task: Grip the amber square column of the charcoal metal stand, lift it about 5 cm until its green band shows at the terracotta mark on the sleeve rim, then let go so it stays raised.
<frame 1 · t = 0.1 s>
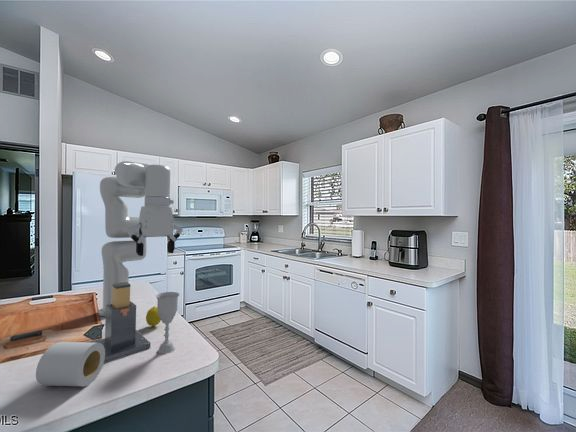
hand: (156, 254, 89), 31 cm above the table, tool pointing down, fingers open, 9 cm apart
lemon: (153, 327, 105), on the table
column: (120, 312, 88), point 12 cm above the table, slide at 0.0 cm
stand: (120, 347, 88), on the table
chalice: (166, 350, 88), on the table
toilet paper: (72, 383, 70), on the table
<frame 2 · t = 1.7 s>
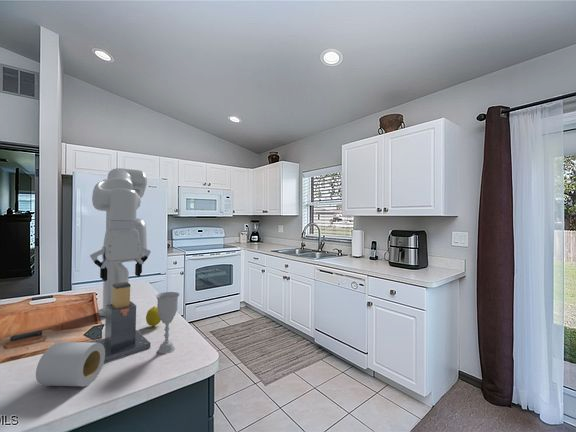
hand: (121, 277, 88), 23 cm above the table, tool pointing down, fingers open, 9 cm apart
nothing on the table moved.
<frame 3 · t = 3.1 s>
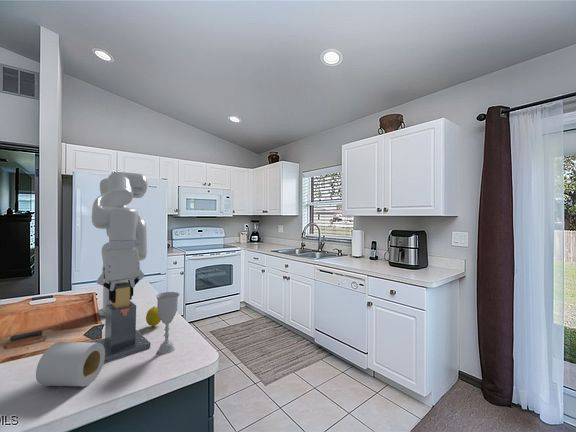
hand: (121, 299, 88), 16 cm above the table, tool pointing down, fingers closed on column, 4 cm apart
column: (120, 312, 88), point 11 cm above the table, slide at 0.0 cm, touching gripper
everything else where it was.
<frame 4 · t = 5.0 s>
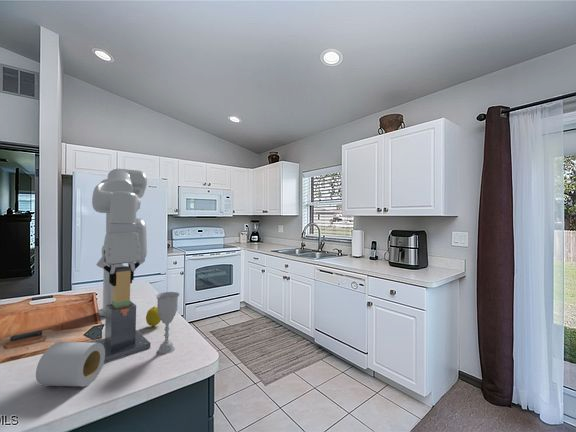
hand: (121, 283, 88), 21 cm above the table, tool pointing down, fingers closed on column, 4 cm apart
column: (121, 296, 88), point 17 cm above the table, slide at 5.4 cm, touching gripper
everything else where it was.
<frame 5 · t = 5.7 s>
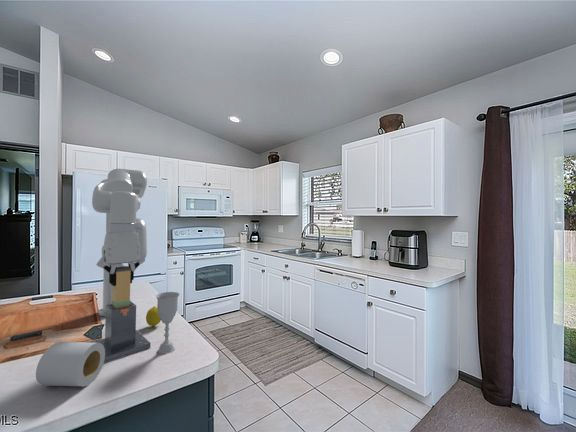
hand: (121, 283, 88), 21 cm above the table, tool pointing down, fingers closed on column, 4 cm apart
column: (121, 296, 88), point 17 cm above the table, slide at 5.4 cm, touching gripper
everything else where it was.
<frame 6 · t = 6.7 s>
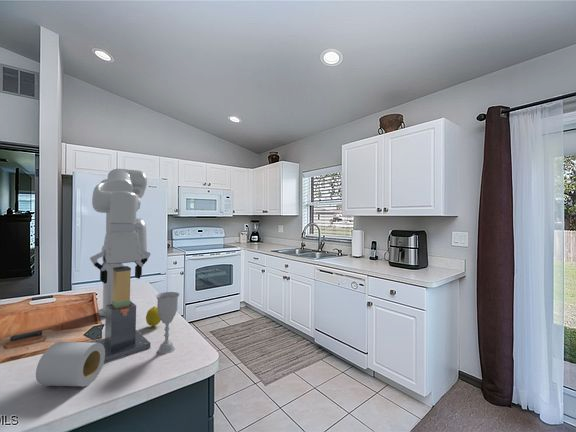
hand: (121, 280, 88), 22 cm above the table, tool pointing down, fingers open, 9 cm apart
column: (121, 296, 88), point 17 cm above the table, slide at 5.5 cm
everything else where it was.
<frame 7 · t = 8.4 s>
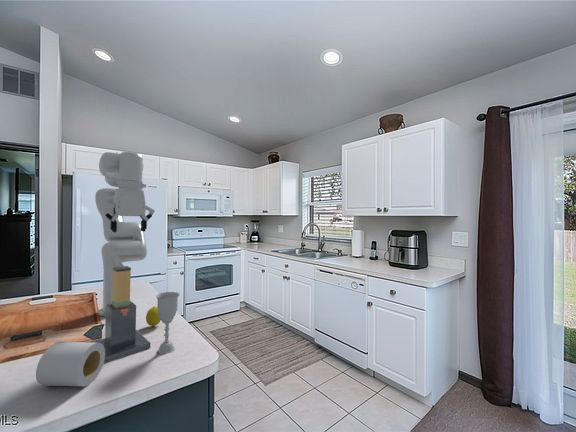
hand: (129, 231, 100), 38 cm above the table, tool pointing down, fingers open, 9 cm apart
nothing on the table moved.
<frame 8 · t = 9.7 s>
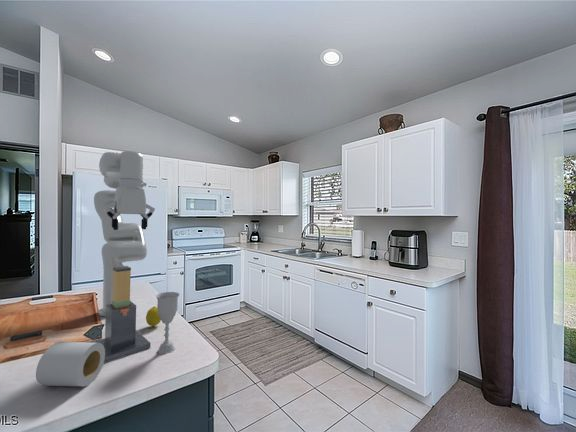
hand: (130, 229, 102), 38 cm above the table, tool pointing down, fingers open, 9 cm apart
nothing on the table moved.
at the end: column slide at 5.5 cm; the gripper is holding nothing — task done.
